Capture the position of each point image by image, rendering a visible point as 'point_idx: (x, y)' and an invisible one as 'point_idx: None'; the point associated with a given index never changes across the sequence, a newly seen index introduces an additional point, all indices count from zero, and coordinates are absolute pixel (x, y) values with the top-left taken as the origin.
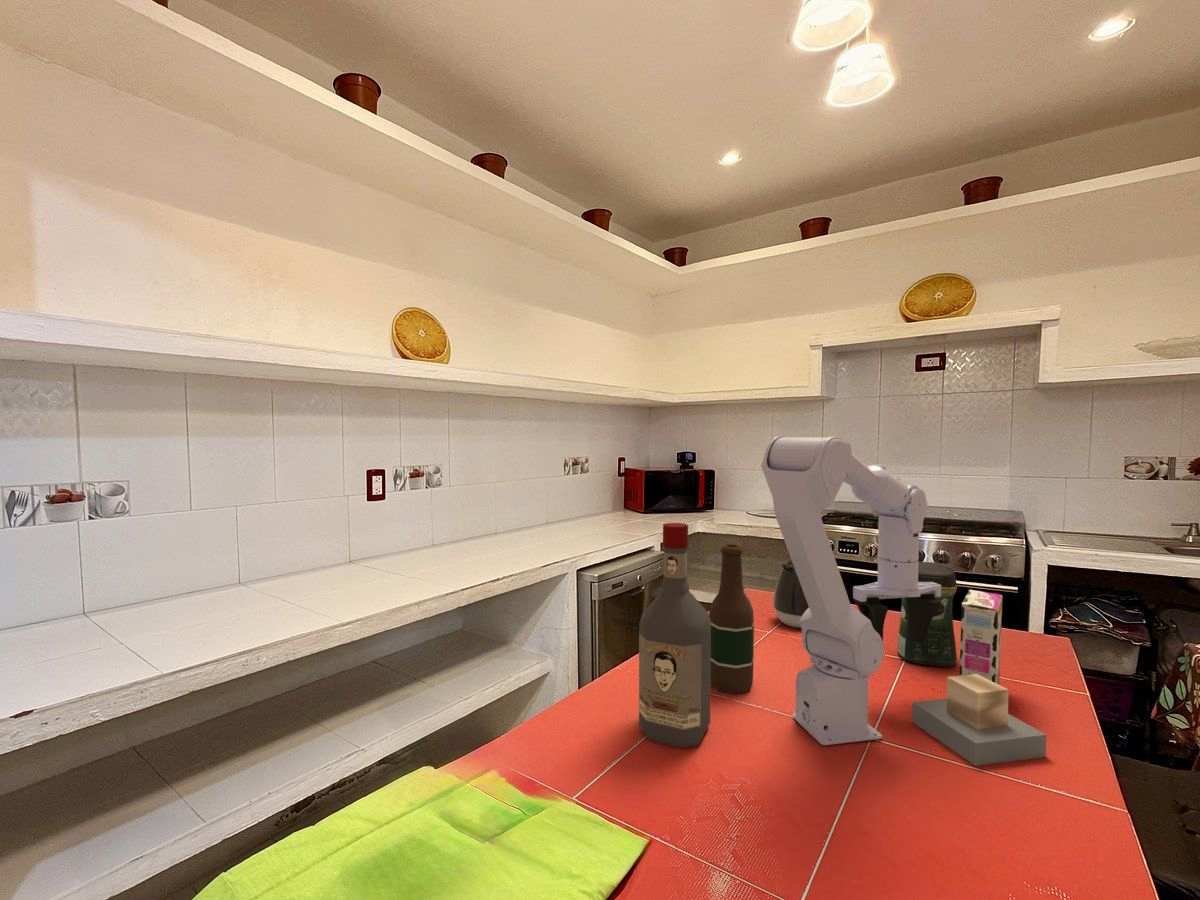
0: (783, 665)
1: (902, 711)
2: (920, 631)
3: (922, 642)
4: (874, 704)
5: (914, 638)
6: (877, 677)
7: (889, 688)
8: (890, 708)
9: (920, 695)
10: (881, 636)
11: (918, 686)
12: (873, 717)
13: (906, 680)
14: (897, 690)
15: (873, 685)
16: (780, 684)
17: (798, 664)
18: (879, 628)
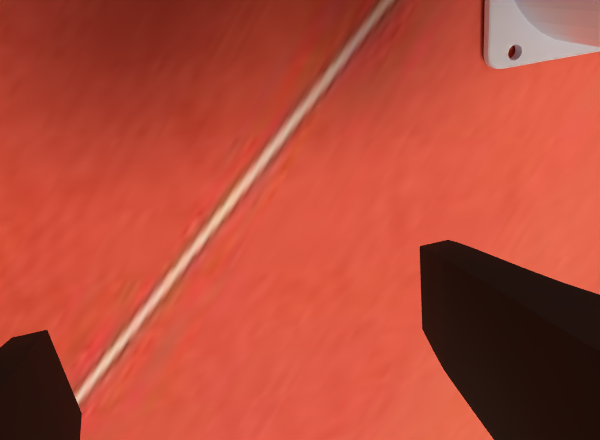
0: None
1: (244, 65)
2: (17, 406)
3: (21, 336)
4: (333, 130)
5: (67, 391)
6: (189, 360)
7: (188, 271)
8: (283, 94)
9: (73, 215)
10: (478, 269)
11: (38, 297)
12: (404, 15)
13: (69, 346)
14: (161, 256)
15: (245, 292)
16: (585, 277)
17: (438, 426)
18: (568, 293)
